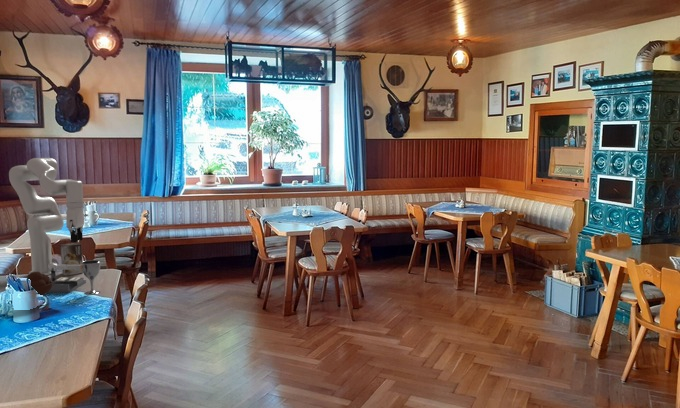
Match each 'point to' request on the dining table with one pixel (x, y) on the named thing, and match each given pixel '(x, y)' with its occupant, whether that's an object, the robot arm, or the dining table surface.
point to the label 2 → (74, 279)
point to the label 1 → (61, 279)
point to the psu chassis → (64, 284)
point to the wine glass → (91, 273)
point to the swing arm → (63, 267)
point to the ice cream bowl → (40, 282)
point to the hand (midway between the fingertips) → (76, 240)
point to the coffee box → (71, 256)
